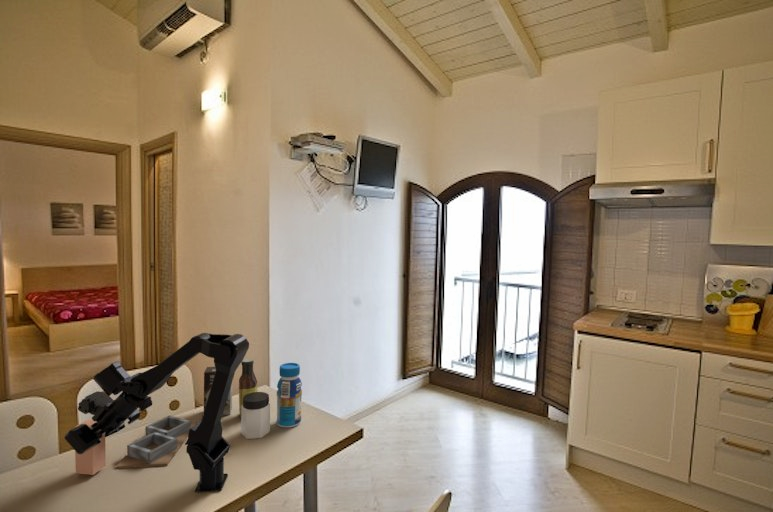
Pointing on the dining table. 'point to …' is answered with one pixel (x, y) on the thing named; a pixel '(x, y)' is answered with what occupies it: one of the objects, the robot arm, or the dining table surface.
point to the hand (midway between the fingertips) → (85, 444)
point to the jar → (255, 415)
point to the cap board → (157, 443)
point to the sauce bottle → (246, 381)
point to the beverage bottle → (289, 396)
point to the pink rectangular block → (91, 456)
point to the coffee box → (208, 381)
